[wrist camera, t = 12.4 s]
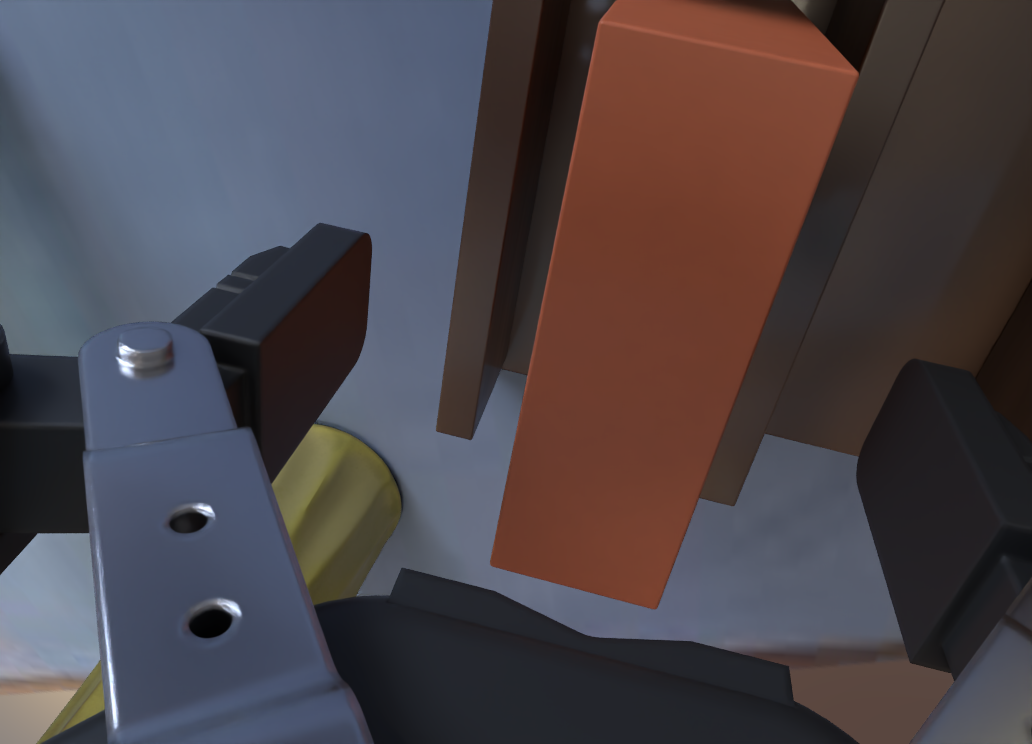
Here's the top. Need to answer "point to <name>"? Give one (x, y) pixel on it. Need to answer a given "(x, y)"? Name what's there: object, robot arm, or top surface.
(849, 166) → the rack
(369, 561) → the vase
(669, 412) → the terracotta rectangular prism
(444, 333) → the top surface
